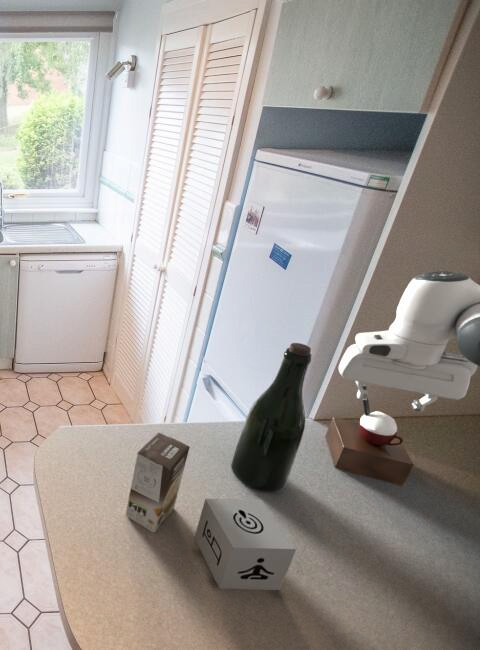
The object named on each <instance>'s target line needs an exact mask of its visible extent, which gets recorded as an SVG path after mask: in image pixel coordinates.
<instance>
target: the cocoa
mask: <svg viewBox="0 0 480 650" xmlns="http://www.w3.org/2000/svg"><path fill="white" fill-rule="evenodd" d="M362 388H363V390H367V389H368V388H367V385H366V386H362ZM367 391H368V390H367ZM367 398H368V399H367V400H363V399H361V400H362V404H363V412H364V414H363V415H361V417H360V420H359V422H358V423H359V434H360V436H361V437H362V438H363V439H364V440H365V441H366V442H368V443H370V444H373V445H378V446H382V445H391V446H394V445H400V444H401V443H402V444H403V443H404V439H403V438H402V437H401V436H399V435H398V433H397V431H398V425H397V422H396V420H395V419H394V418H393V417H392V416H390V415H389V414H386V413H384V412H382V411H373V412H371V408H370V401H369V396H368V397H367ZM396 434H397V435H398V436H396ZM394 438H398V439H399V440H400V442H399V443H390V442H391V441H392V440H393V439H394Z"/></svg>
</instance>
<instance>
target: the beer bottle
mask: <svg viewBox="0 0 480 650" xmlns="http://www.w3.org/2000/svg"><path fill="white" fill-rule="evenodd" d="M311 350H312V348H311V347H310V346H308V345H306V344H304V343H300V342H292V343H290V344H289V347H287V348H286V349H285V351H284V352H283V356H282V360H281V362H280V363H281V364H280V366H279V368H278V370H277V373H276V375H275V377H274V379H273V381H272V383H271V384H270V385H269V386H268V387H267V388H266V389H265V391H264V392H262V393H261V394H260V395H259V396H258V397H257V398H256V399H255V401H254V402H253V403H252V405H251V407H250V409H249V411H248V413H247V415H246V418H245V421H244V424H243V427H242V430H241V433H240V436H239V439H238V441H237V444H236V447H235V451H234V454H233V457H232V461H231V465H230V466H231V470H232V473H233V474H234V476H235V477H236V478H237V480H239V481H240V482H242V483H243V484H245V485H246V486H248V487H249V488H251V489H254V490H257V491H259V492H264V493H277V492H280V491H281V490H283V489H284V488H285V487H286V485H287V482H288V480H289V477H290V475H291V472H292V468H293V466H294V463H295V460H296V457H297V454H298V452H299V448H300V445H301V442H302V439H303V436H304V432H305V428H306V411H305V406H304V398H303V388H304V382H305V378H306V374H307V371H308V368H309V365H310V364H311V362H312V355H313V354H312V353H311Z"/></svg>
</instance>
